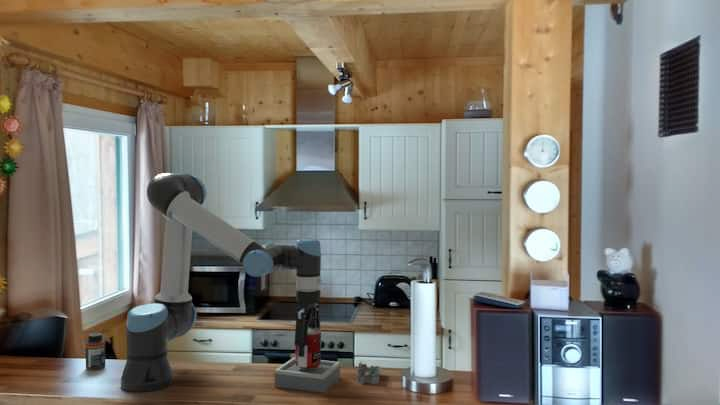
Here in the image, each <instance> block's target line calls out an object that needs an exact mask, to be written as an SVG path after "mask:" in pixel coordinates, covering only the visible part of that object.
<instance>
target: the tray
mask: <svg viewBox="0 0 720 405" xmlns="http://www.w3.org/2000/svg"><path fill="white" fill-rule="evenodd" d="M340 378H341V362H340V361H334V360H331V361H330V360H325V359H321V363H320V365H319V366H318V367H315V368H300V367H298V366H296V363H295V356H293V357H292V358H291V359H289V360H288V361H285V363H283V364H281V366H280V365H279V367H277V368H276V369H274V387H275V388H281V389H282V388H283V389H292V390H299V391H307V392H315V393H323V394H324V393H325V392H327V391H328V390H329V389H330V388H331V387H330V386H331V385H332V384H333V385H334V384H335V383H336V382H337V381H338V380H340Z"/></svg>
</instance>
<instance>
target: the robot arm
mask: <svg viewBox="0 0 720 405" xmlns="http://www.w3.org/2000/svg"><path fill="white" fill-rule="evenodd" d="M206 190H207V189H206V187H205V184H204V182H203V181H202V180H201V179H200V178H199V177H198V176H195V175H192V174H189V173H171V172H164V173H159V174H157V175H155V176H154V177H152V179H151V180H150V181H149V182H148V185H147V188H146V198H147V200H148V202H149V204H150V205H151V206H152V207H153V208H154V209H155V210H156V211H158V212H159V213H160V215H162V216H163V218H164V219H165V227H164V239H163V254H162V266H161V267H162V268H161V276H160V277H161V280H160V291H159V292H158V293H157V294H156V295H155V297H154V303H145V304H141V305H137V306H135V307H133V308H131V309H130V310H129V311H128V313H127V317H126V322H125V326H126V363H125V365H124V368H123V371H122V374H121V377H120V388H121V389H122V390H123V391H124V390H125V391H128V392H134V393H135V392H137V393H138V392H139V393H140V392H141V393H143V392H151V391H157V390H160V389H161V390H162V389H164V388H167V387H169V386H170V385H172V384H173V383H174V372H173V370H172V367H171V364H170V360H169V357H168V342H171V341H172V340H174V339H175V340H176V338H180V337H182V336H184V335H186V334H187V333H188V332H190V331H191V330H192V329H193V327H194V326H195V324H196V321H197V316H198V314H197V309H196V306H194V304H193V297H192V295H191V294H190V293H189V280H190V270H191V269H190V266H191V254H192V253H191V252H192V240H193V239H192V238H193V232H195V234H198V235H199V236H200V237H202V238H203V239H205V240H206V241H208V242H209V243H210V244H212V245H214V247H216V248H218V249H219V250H220V251H222V252H224V253H225V254H227V255H228V256H230V257H231V258H233V259H234V260H235V261H237V262H238V263H240V264H241V265H243V269H244V271H245V273H247V275H249V276H250V277H254V278H257V277H264V276H267V275H269V274H270V273H274V272H276V271H279V270H291V271H292V270H295V273H296V274H295V276H296V277H295V288H296V289H297V290H296V291H295V293H296V294H295V301H296V303H298V304H300V309H299V311H296V312H295V333H294V346H295V345H297V346H298V367H307V345H306V340H307V333H308V327H311V328H319V329H321V315H320V313H321V312H320V309H321V304H319V303H320V302H321V290H320V288H321V283H322V282H323V280H322V279H321V274H322V273H321V267H322V266H321V265H322V263H321V262H322V259H321V258H322V252H321V251H322V250H321V241H320V240H318V239H316V238H315V239H314V238H301V239H297V240H296V243H295V245H288V244H287V245H285V244H284V245H283V244H274V243H273V244H262V245H261V244H259V243H258V242H256V241H255V240H254V239H252V238H251V237H249V236H248V235H246V234H245V233H243V232H242V231H240V230H239V229H237V228H236V227H234V226H233V225H231V224H230V223H229V222H227V221H225V220H224V219H223V218H221V217H219V216H218V215H216V214H215V213H214V212H212V211H210V210H209V209H207V208H206V207H205V206H203V204H204V203H205V201H206V197H207V191H206Z"/></svg>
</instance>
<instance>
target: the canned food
mask: <svg viewBox="0 0 720 405" xmlns="http://www.w3.org/2000/svg"><path fill="white" fill-rule="evenodd" d="M306 345H307V367H300V368H315V367H318V366H319V365H320V363H321V360H322V356H321V354H322V352H321V351H322V329H321V328H320V329H319V328H311V327H308V333H307V340H306ZM294 348H295V349H294V350H295V352H294V354H295V356H294V357H295V363H296V366H298V346H297V345H295V344H294Z"/></svg>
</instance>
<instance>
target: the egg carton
mask: <svg viewBox="0 0 720 405" xmlns="http://www.w3.org/2000/svg"><path fill="white" fill-rule="evenodd" d="M381 371H382V365H379V366H378V365H375V366H373V365H372V364H371V365H370V367H368V364H367V363H362V361H360V362H359V363H358V366H357V370H356V382H357V383H359V384H361V385H364V384H366V383H368V384H371V385H375V384H379V382H380V376H381V375H380V374H381Z"/></svg>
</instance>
